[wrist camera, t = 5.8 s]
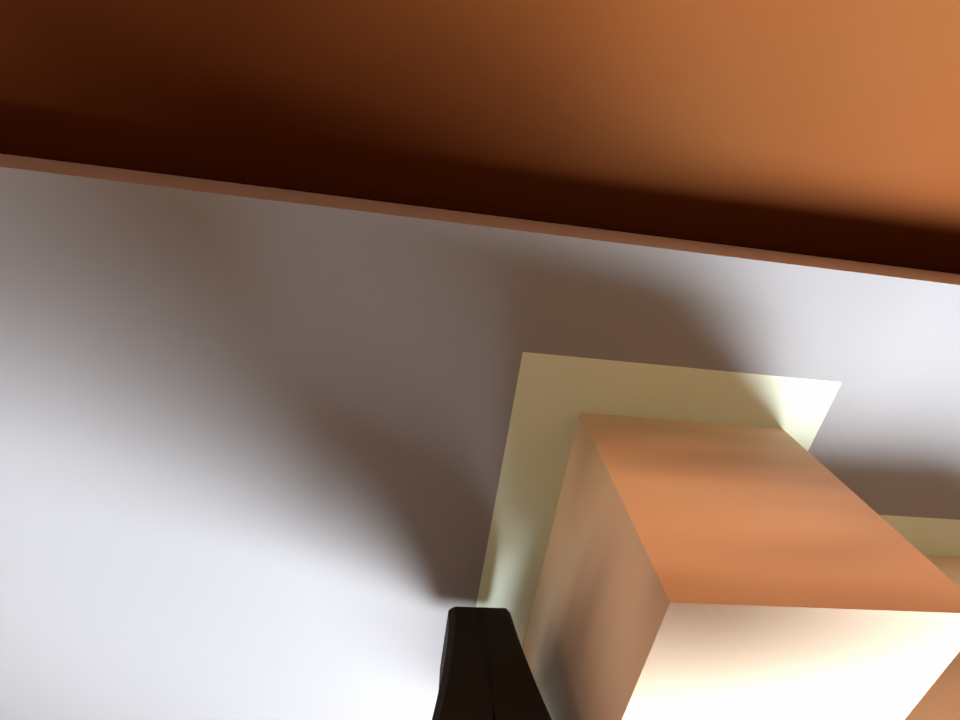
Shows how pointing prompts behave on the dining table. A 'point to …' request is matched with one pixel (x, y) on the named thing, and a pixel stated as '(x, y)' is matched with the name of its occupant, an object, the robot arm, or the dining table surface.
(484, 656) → the robot arm
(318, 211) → the board
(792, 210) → the dining table surface
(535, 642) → the block
